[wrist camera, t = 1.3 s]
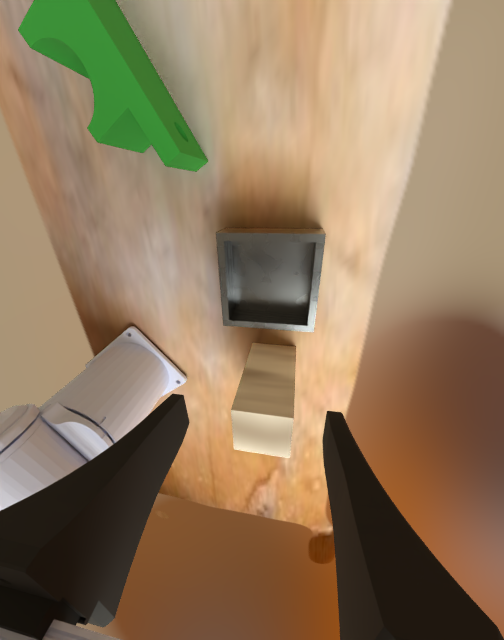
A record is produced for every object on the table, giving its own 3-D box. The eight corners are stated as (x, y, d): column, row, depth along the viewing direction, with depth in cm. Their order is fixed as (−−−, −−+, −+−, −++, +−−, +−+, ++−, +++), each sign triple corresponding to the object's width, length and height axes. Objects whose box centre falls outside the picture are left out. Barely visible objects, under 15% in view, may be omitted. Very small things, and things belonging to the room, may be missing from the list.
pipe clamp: (54, 16, 15) (-41, -53, 10) (91, -45, 13) (-3, -151, 9) (170, 194, 18) (132, 194, 14) (209, 162, 17) (179, 152, 12)
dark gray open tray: (312, 317, 20) (313, 332, 18) (231, 311, 21) (223, 325, 19) (322, 228, 17) (325, 233, 15) (226, 227, 18) (215, 232, 16)
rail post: (293, 380, 24) (289, 458, 17) (253, 376, 24) (234, 449, 18) (296, 346, 22) (293, 418, 15) (252, 342, 23) (230, 409, 16)
